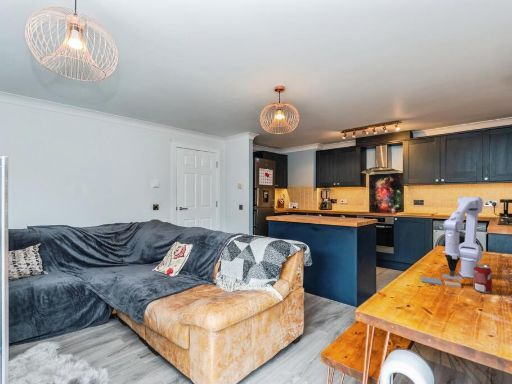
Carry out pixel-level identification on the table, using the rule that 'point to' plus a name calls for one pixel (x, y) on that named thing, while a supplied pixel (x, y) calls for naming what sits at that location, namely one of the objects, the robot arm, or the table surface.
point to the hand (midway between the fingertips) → (452, 270)
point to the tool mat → (431, 280)
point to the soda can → (482, 279)
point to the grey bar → (452, 276)
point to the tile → (452, 284)
